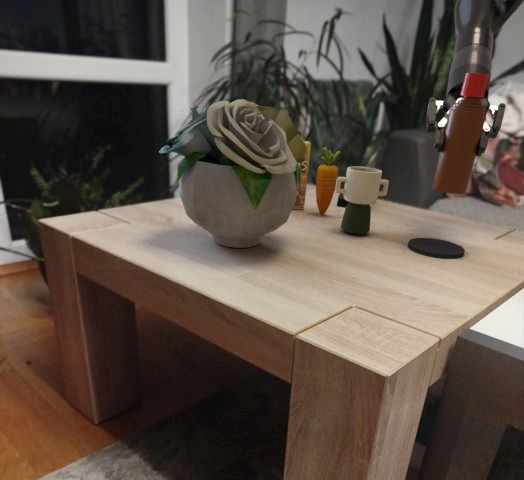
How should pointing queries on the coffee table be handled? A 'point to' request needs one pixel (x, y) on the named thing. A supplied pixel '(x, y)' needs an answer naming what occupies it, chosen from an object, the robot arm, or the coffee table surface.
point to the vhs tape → (342, 200)
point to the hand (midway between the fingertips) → (459, 150)
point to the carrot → (326, 181)
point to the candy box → (302, 177)
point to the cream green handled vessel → (360, 196)
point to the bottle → (459, 145)
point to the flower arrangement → (238, 170)
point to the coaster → (436, 248)
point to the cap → (474, 84)
